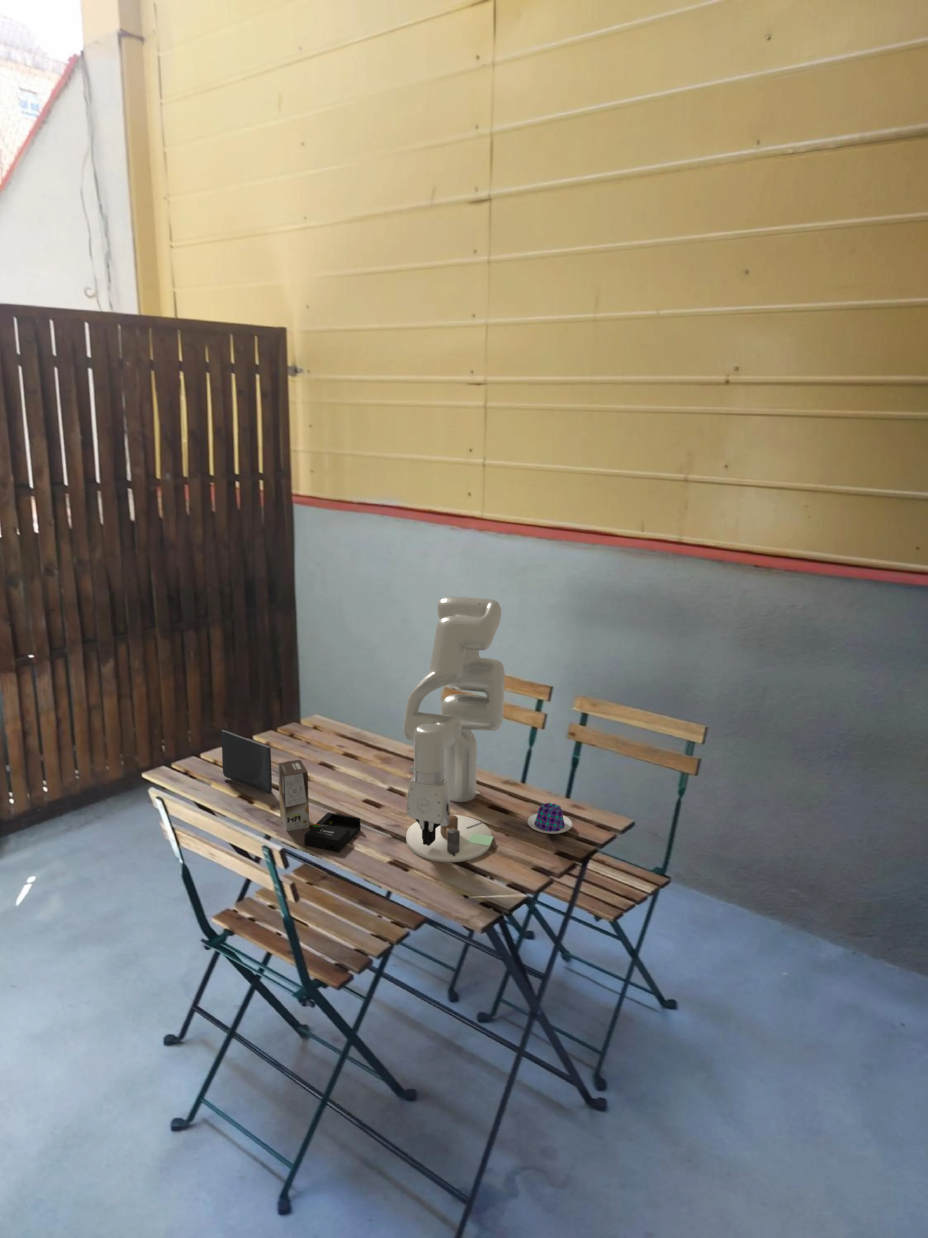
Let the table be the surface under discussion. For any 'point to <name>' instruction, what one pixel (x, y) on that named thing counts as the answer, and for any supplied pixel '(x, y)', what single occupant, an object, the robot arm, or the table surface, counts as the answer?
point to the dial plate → (470, 845)
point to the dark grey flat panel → (246, 761)
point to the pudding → (550, 819)
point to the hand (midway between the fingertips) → (428, 842)
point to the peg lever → (451, 834)
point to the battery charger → (332, 832)
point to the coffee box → (293, 795)
